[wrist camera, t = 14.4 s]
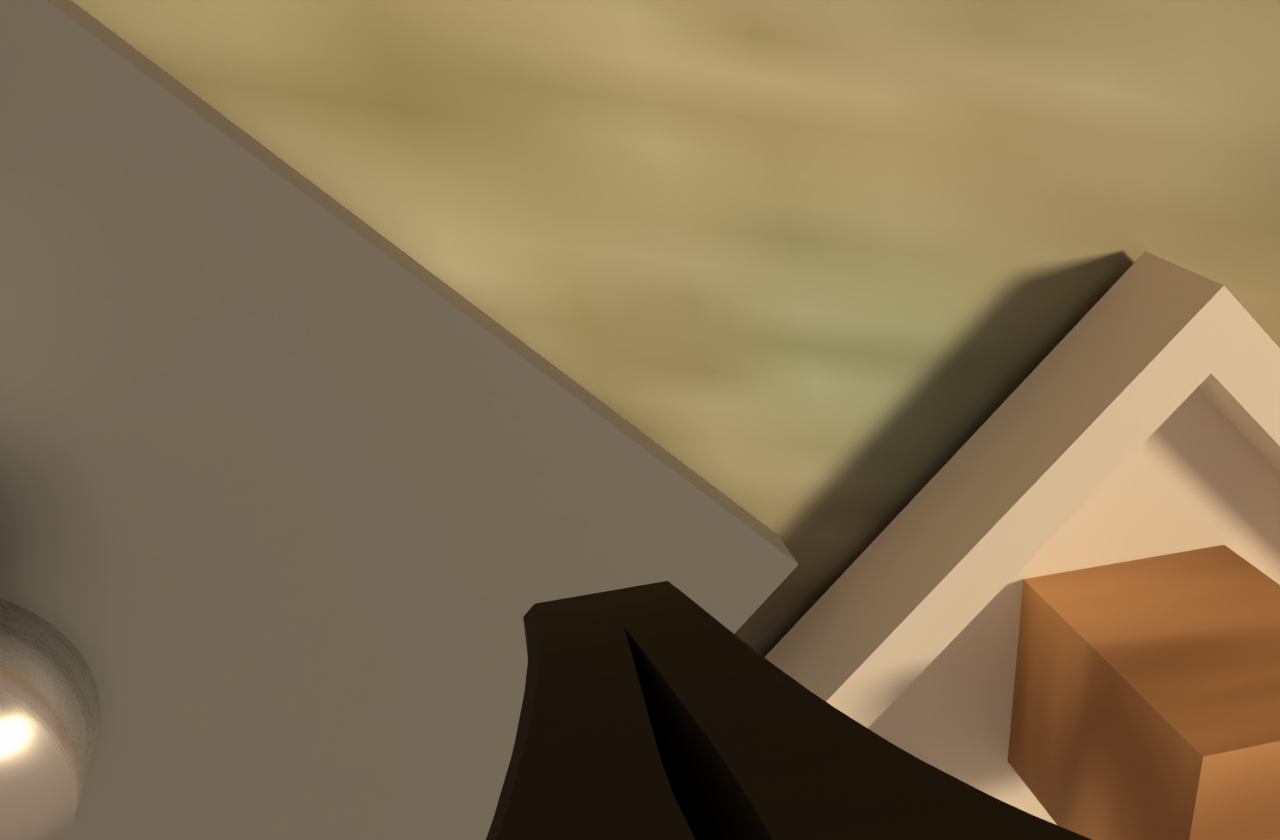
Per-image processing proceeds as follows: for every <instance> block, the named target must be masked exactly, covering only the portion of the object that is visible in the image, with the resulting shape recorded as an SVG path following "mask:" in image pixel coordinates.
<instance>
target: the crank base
mask: <svg viewBox="0 0 1280 840" xmlns="http://www.w3.org/2000/svg"><path fill="white" fill-rule="evenodd" d="M798 565H799V564H798V563H797V561H796V560H795V558H794V557H793V556H792V554H791V553H790V551H789V550H788V548H787V547H786V546H785V544H784V543H783V541H782V540H781V538H780V537H779V536H778V535H777V534H776V533H774V532H773V531H772V530H770V529H769V528H768V527H766V526H765V525H764V524H762V523H761V522H760V521H759V520H757V519H756V518H755V517H753V516H752V515H751V514H749V513H748V512H747V511H745V510H744V509H743V508H741V507H740V506H739V505H737V504H736V503H735V502H733V501H732V500H731V499H729V498H728V497H727V496H725V495H724V494H723V493H722V492H720V491H719V490H718V489H716V488H715V487H714V486H712V485H711V484H710V483H708V482H707V481H706V480H704V479H703V478H702V477H700V476H699V475H698V474H696V473H695V472H694V471H692V470H691V469H690V468H688V467H687V466H686V465H684V464H683V463H682V462H681V461H679V460H678V459H677V458H675V457H674V456H673V455H671V454H670V453H669V452H667V451H666V450H665V449H663V448H662V447H661V446H659V445H658V444H657V443H655V442H654V441H653V440H651V439H650V438H649V437H647V436H646V435H645V434H644V433H642V432H641V431H640V430H638V429H637V428H636V427H634V426H633V425H632V424H630V423H629V422H628V421H626V420H625V419H624V418H622V417H621V416H620V415H618V414H617V413H616V412H614V411H613V410H612V409H610V408H609V407H608V406H606V405H605V404H604V403H603V402H601V401H600V400H599V399H597V398H596V397H595V396H593V395H592V394H591V393H589V392H588V391H587V390H585V389H584V388H583V387H581V386H580V385H579V384H577V383H576V382H575V381H573V380H572V379H571V378H569V377H568V376H567V375H566V374H564V373H563V372H562V371H560V370H559V369H558V368H556V367H555V366H554V365H552V364H551V363H550V362H548V361H547V360H546V359H544V358H543V357H542V356H540V355H539V354H538V353H536V352H535V351H534V350H532V349H531V348H530V347H528V346H527V345H526V344H525V343H523V342H522V341H521V340H519V339H518V338H517V337H515V336H514V335H513V334H511V333H510V332H509V331H507V330H506V329H505V328H503V327H502V326H501V325H499V324H498V323H497V322H495V321H494V320H493V319H491V318H490V317H489V316H488V315H486V314H485V313H484V312H482V311H481V310H480V309H478V308H477V307H476V306H474V305H473V304H472V303H470V302H469V301H468V300H466V299H465V298H464V297H462V296H461V295H460V294H458V293H457V292H456V291H454V290H453V289H452V288H450V287H449V286H448V285H447V284H445V283H444V282H443V281H441V280H440V279H439V278H437V277H436V276H435V275H433V274H432V273H431V272H429V271H428V270H427V269H425V268H424V267H423V266H421V265H420V264H419V263H417V262H416V261H415V260H413V259H412V258H411V257H410V256H408V255H407V254H406V253H404V252H403V251H402V250H400V249H399V248H398V247H396V246H395V245H394V244H392V243H391V242H390V241H388V240H387V239H386V238H384V237H383V236H382V235H380V234H379V233H378V232H376V231H375V230H374V229H372V228H371V227H370V226H369V225H367V224H366V223H365V222H363V221H362V220H361V219H359V218H358V217H357V216H355V215H354V214H353V213H351V212H350V211H349V210H347V209H346V208H345V207H343V206H342V205H341V204H339V203H338V202H337V201H335V200H334V199H333V198H332V197H330V196H329V195H328V194H326V193H325V192H324V191H322V190H321V189H320V188H318V187H317V186H316V185H314V184H313V183H312V182H310V181H309V180H308V179H306V178H305V177H304V176H302V175H301V174H300V173H298V172H297V171H296V170H294V169H293V168H292V167H291V166H289V165H288V164H287V163H285V162H284V161H283V160H281V159H280V158H279V157H277V156H276V155H275V154H273V153H272V152H271V151H269V150H268V149H267V148H265V147H264V146H263V145H261V144H260V143H259V142H257V141H256V140H255V139H253V138H252V137H251V136H250V135H248V134H247V133H246V132H244V131H243V130H242V129H240V128H239V127H238V126H236V125H235V124H234V123H232V122H231V121H230V120H228V119H227V118H226V117H224V116H223V115H222V114H220V113H219V112H218V111H216V110H215V109H214V108H213V107H211V106H210V105H209V104H207V103H206V102H205V101H203V100H202V99H201V98H199V97H198V96H197V95H195V94H194V93H193V92H191V91H190V90H189V89H187V88H186V87H185V86H183V85H182V84H181V83H179V82H178V81H177V80H175V79H174V78H173V77H172V76H170V75H169V74H168V73H166V72H165V71H164V70H162V69H161V68H160V67H158V66H157V65H156V64H154V63H153V62H152V61H150V60H149V59H148V58H146V57H145V56H144V55H142V54H141V53H140V52H138V51H137V50H136V49H135V48H133V47H132V46H131V45H129V44H128V43H127V42H125V41H124V40H123V39H121V38H120V37H119V36H117V35H116V34H115V33H113V32H112V31H111V30H109V29H108V28H107V27H105V26H104V25H103V24H101V23H100V22H99V21H97V20H96V19H95V18H94V17H92V16H91V15H90V14H88V13H87V12H86V11H84V10H83V9H82V8H80V7H79V6H78V5H76V4H75V3H74V2H72V1H71V0H0V599H4V600H6V601H9V602H11V603H14V604H16V605H19V606H21V607H23V608H25V609H27V610H29V611H31V612H32V613H34V614H36V615H38V616H40V617H41V618H43V619H44V620H46V621H47V622H48V623H50V624H51V625H53V626H54V627H56V628H57V629H58V630H59V631H60V632H61V633H62V634H63V635H64V636H65V637H67V638H68V639H69V640H70V642H71V643H72V644H73V645H74V646H75V647H76V649H77V650H78V651H79V652H80V653H81V655H82V657H83V658H84V660H85V661H86V663H87V665H88V666H89V668H90V670H91V673H92V675H93V677H94V680H95V682H96V686H97V690H98V694H99V700H100V711H101V712H100V724H99V730H98V734H97V738H96V742H95V745H94V749H93V752H92V756H91V759H90V763H89V766H88V770H87V773H86V777H85V780H84V784H83V787H82V791H81V794H80V798H79V801H78V805H77V808H76V812H75V815H74V818H73V822H72V825H71V829H70V832H69V835H68V838H67V840H486V838H487V835H488V832H489V829H490V826H491V823H492V820H493V817H494V814H495V811H496V807H497V804H498V801H499V797H500V794H501V790H502V787H503V783H504V780H505V777H506V773H507V770H508V766H509V763H510V759H511V756H512V752H513V748H514V743H515V739H516V734H517V728H518V723H519V718H520V713H521V708H522V702H523V697H524V692H525V683H526V674H527V664H528V655H527V646H526V638H525V629H524V620H523V617H524V615H525V614H526V613H527V612H528V611H529V610H530V608H531V607H532V606H533V605H534V604H535V603H541V602H547V601H552V600H558V599H564V598H570V597H576V596H582V595H587V594H593V593H599V592H605V591H611V590H617V589H622V588H628V587H634V586H640V585H646V584H652V583H657V582H663V581H669V582H670V583H671V584H673V585H674V586H675V587H676V588H678V589H679V590H680V591H682V592H683V593H684V594H685V595H687V596H688V597H689V598H690V599H692V600H693V601H694V602H695V603H697V604H698V605H699V606H700V607H702V608H703V609H704V610H705V611H707V612H708V613H709V614H710V615H711V616H713V617H714V618H715V619H716V620H718V621H719V622H720V623H721V624H723V625H724V626H725V627H726V628H727V629H729V630H730V631H731V632H733V633H734V634H735V633H736V631H737V630H738V629H739V628H740V627H741V626H742V625H743V624H744V623H745V622H746V621H747V620H748V619H749V617H750V616H751V615H752V614H753V613H754V612H755V611H756V610H757V609H758V608H759V607H760V606H761V605H762V603H763V602H764V601H765V600H766V599H767V598H768V597H769V596H770V595H771V594H772V593H773V592H774V591H775V589H776V588H777V587H778V586H779V585H780V584H781V583H782V582H783V581H784V580H785V579H786V578H787V577H788V575H789V574H790V573H791V572H792V571H793V570H794V569H795V568H796V567H797V566H798Z"/></svg>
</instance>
